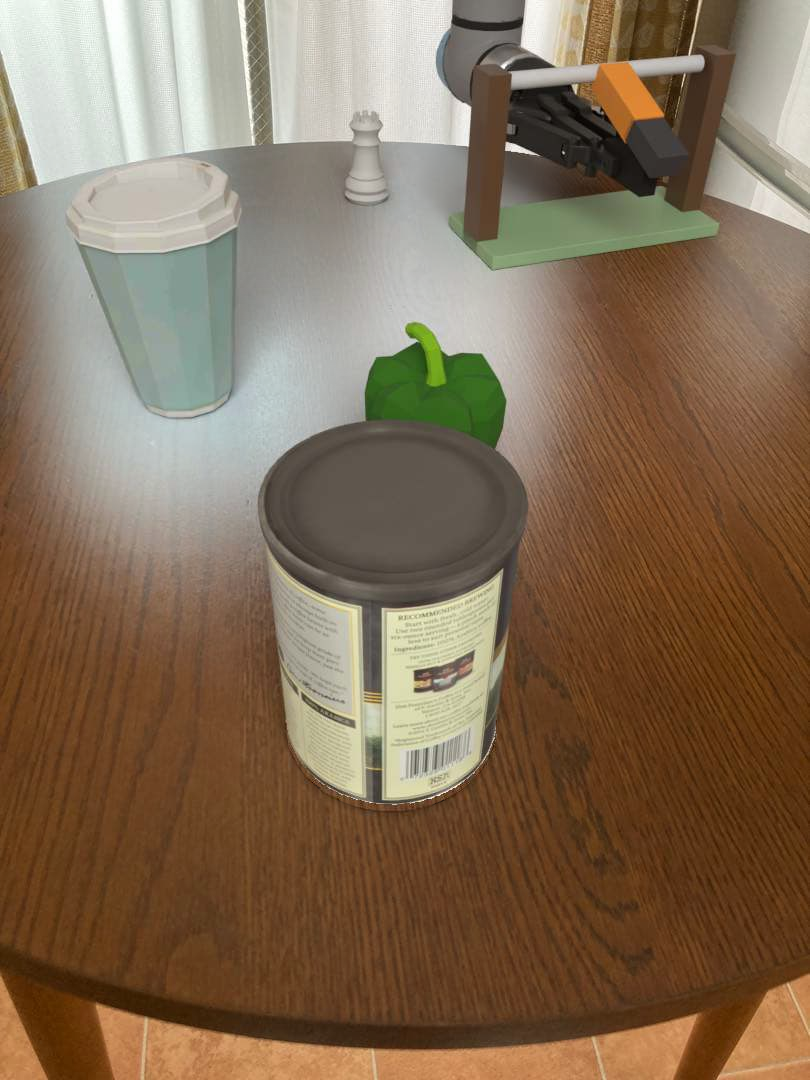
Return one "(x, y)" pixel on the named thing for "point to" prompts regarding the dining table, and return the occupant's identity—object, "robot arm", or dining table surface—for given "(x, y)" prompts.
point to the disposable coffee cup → (165, 276)
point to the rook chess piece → (366, 162)
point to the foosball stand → (595, 217)
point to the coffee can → (392, 602)
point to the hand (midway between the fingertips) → (649, 179)
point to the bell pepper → (436, 388)
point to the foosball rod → (627, 104)
